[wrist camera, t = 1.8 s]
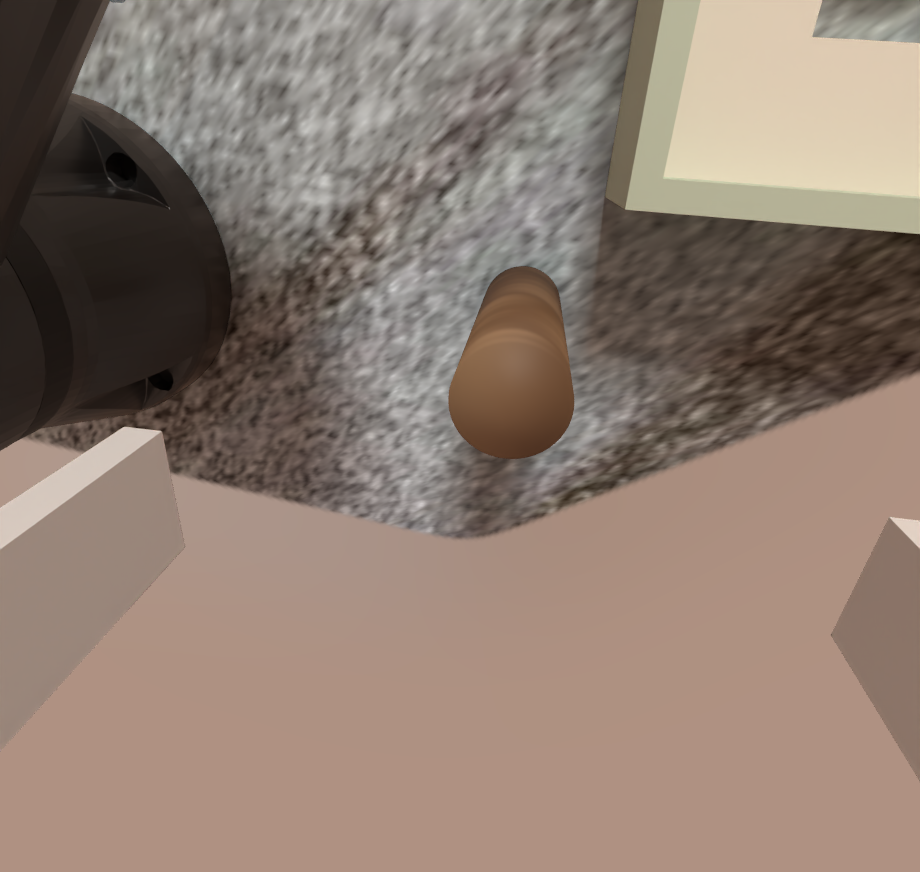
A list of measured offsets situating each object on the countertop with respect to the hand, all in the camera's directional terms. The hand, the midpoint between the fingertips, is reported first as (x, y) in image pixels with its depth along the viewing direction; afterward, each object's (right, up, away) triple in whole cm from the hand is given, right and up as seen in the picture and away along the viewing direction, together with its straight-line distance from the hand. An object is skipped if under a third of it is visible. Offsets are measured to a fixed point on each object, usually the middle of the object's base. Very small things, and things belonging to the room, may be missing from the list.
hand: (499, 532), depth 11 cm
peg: (+2, +8, +16) cm, 18 cm away
